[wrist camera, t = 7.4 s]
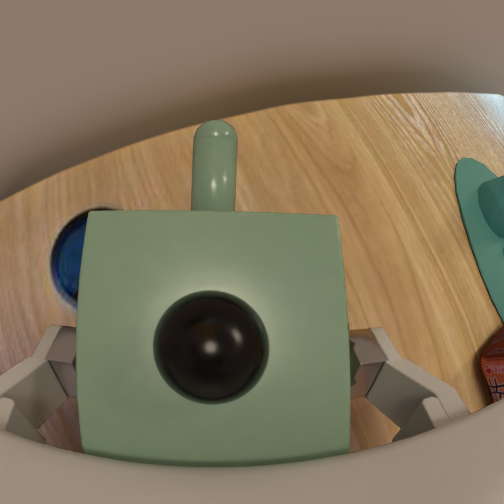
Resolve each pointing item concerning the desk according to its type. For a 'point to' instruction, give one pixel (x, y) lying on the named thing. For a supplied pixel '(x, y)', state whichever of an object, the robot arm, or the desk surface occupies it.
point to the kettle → (212, 329)
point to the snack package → (494, 365)
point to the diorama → (484, 222)
